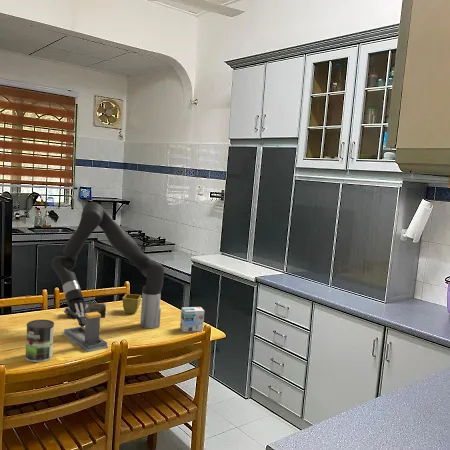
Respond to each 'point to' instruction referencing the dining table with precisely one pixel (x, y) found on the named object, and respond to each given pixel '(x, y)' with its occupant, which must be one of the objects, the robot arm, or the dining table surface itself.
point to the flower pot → (131, 303)
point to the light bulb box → (192, 319)
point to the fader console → (83, 339)
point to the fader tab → (92, 327)
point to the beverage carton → (97, 309)
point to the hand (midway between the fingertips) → (83, 325)
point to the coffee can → (39, 340)
